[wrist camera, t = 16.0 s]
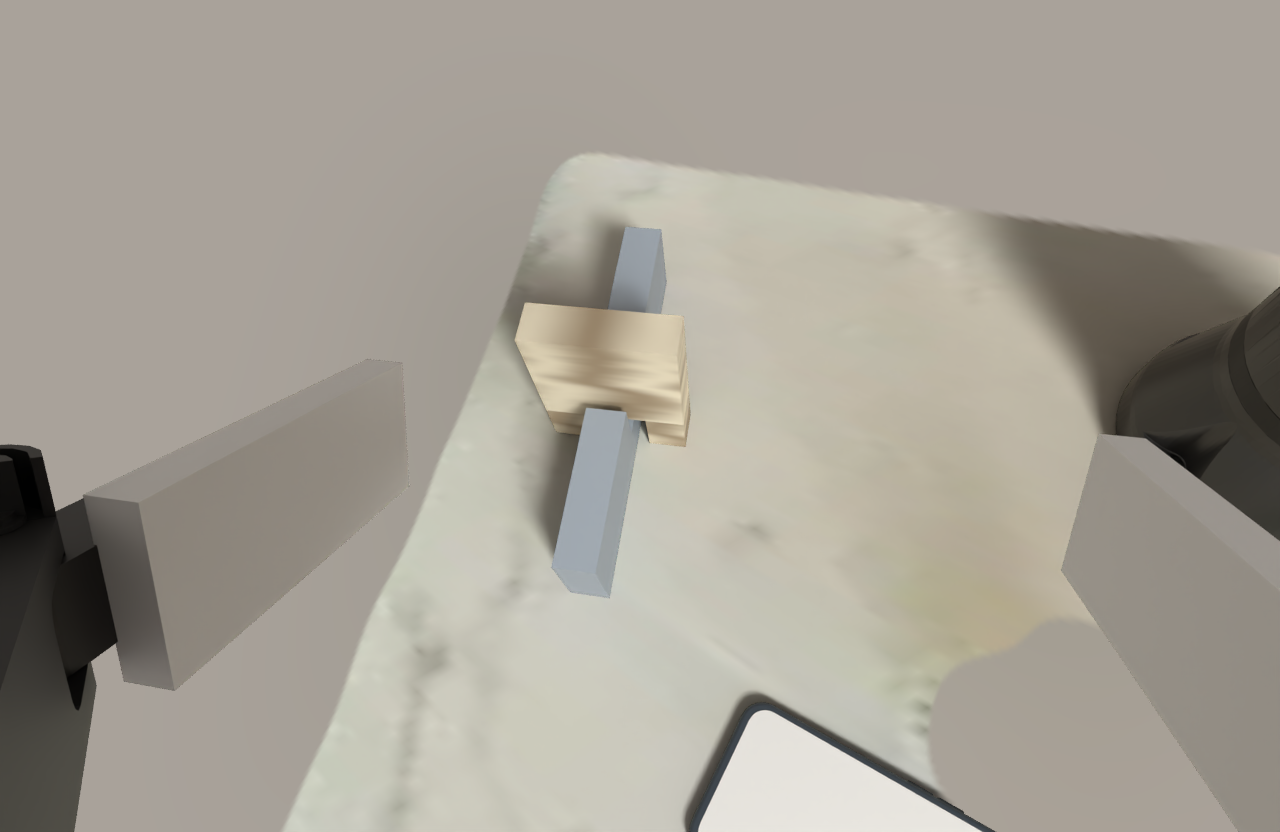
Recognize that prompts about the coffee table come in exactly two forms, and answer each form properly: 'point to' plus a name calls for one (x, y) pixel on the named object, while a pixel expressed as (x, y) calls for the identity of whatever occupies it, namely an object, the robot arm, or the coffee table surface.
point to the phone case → (812, 786)
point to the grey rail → (608, 440)
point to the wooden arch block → (608, 366)
